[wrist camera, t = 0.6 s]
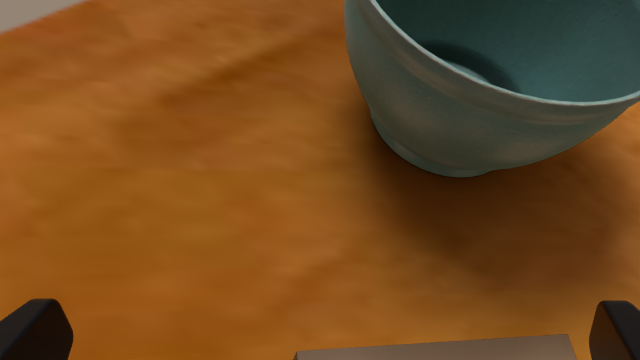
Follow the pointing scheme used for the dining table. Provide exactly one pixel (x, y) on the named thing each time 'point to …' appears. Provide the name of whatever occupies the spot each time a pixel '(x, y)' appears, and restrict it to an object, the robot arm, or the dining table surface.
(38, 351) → the robot arm
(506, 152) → the flower pot
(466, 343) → the walnut block
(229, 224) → the dining table surface
